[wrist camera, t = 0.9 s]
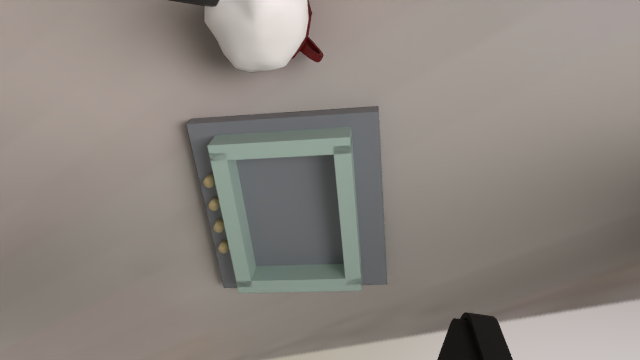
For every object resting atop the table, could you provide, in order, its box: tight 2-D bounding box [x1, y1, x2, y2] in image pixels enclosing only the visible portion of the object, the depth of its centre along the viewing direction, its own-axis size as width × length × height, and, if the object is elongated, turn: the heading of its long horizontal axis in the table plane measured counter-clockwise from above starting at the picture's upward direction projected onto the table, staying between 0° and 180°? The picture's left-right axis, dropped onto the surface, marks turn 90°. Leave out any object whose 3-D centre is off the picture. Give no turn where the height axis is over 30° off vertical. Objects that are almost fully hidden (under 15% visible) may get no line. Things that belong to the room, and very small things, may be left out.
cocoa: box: [170, 0, 323, 73], centre depth 28 cm, size 10×6×12 cm, turn 31°
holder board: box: [186, 106, 387, 293], centre depth 38 cm, size 14×15×3 cm
